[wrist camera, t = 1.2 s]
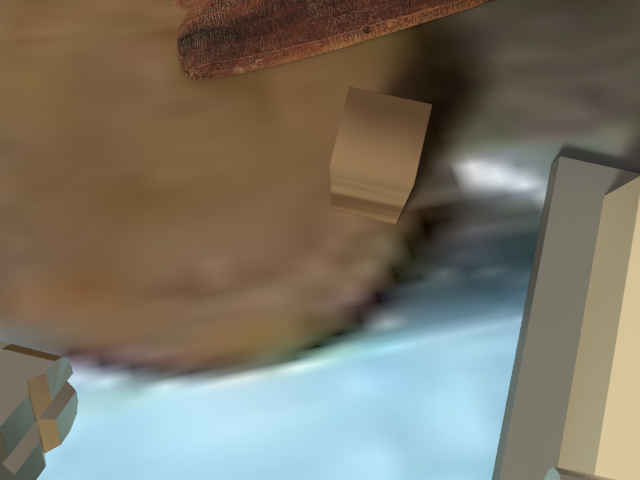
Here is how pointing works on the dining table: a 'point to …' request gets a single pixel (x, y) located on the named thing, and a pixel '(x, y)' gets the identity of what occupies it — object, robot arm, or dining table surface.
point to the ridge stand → (579, 333)
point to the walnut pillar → (377, 154)
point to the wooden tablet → (289, 29)
